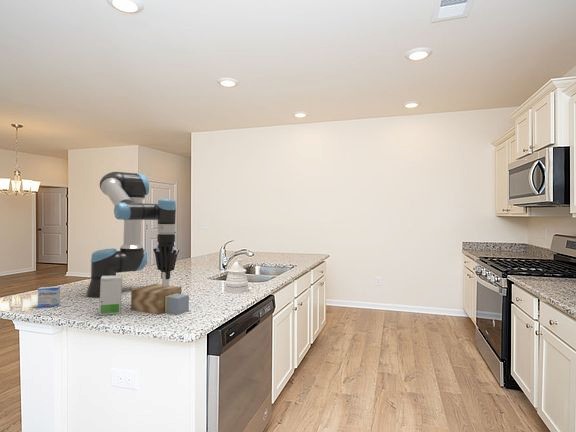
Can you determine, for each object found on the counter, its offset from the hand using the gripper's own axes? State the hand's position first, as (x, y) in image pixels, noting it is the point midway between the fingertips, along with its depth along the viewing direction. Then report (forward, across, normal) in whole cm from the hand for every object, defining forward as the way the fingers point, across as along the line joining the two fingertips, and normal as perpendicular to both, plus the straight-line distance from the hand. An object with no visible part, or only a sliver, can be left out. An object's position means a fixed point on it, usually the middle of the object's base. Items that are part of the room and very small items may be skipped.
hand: (165, 286), depth 152 cm
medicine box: (+11, -50, -19) cm, 55 cm away
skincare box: (+11, -17, -14) cm, 24 cm away
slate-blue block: (+7, +4, 0) cm, 8 cm away
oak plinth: (+10, -5, 0) cm, 12 cm away
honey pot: (+11, +9, +46) cm, 48 cm away
